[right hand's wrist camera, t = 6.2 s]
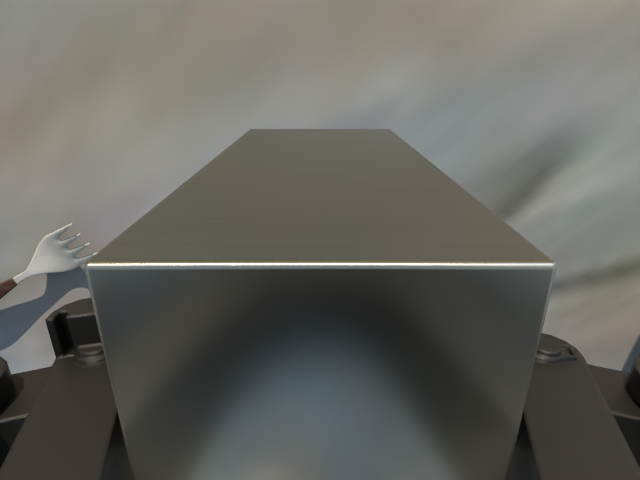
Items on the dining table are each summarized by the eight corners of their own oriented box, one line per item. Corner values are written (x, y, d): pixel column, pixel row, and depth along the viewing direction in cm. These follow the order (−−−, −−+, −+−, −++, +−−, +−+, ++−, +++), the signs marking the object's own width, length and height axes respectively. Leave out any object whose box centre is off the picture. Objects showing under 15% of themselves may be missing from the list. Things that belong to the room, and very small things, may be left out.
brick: (249, 128, 15) (78, 263, 4) (390, 129, 15) (561, 263, 4) (260, 308, 18) (172, 655, 7) (379, 308, 18) (467, 656, 7)
